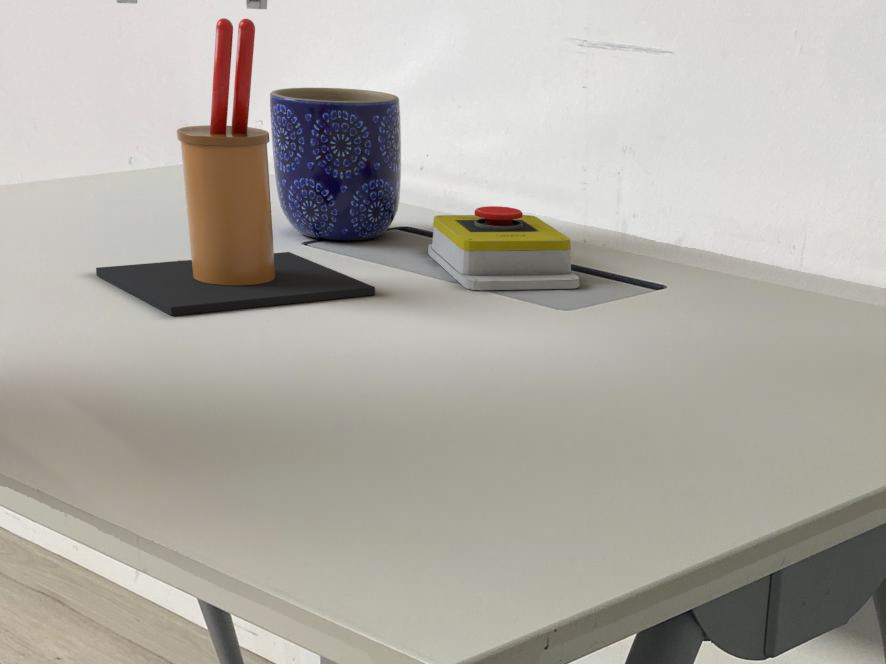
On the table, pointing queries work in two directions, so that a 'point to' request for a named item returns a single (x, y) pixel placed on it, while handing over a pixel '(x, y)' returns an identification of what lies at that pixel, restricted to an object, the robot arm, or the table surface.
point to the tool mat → (186, 295)
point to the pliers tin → (229, 176)
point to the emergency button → (502, 251)
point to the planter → (337, 160)
